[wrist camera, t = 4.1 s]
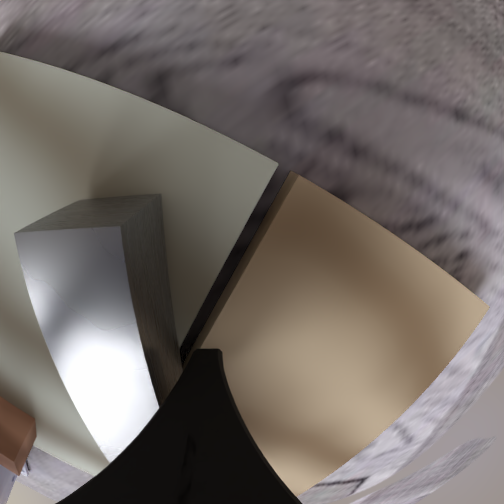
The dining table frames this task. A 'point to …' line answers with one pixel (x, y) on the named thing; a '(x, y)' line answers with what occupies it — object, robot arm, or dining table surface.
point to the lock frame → (206, 271)
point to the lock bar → (105, 310)
